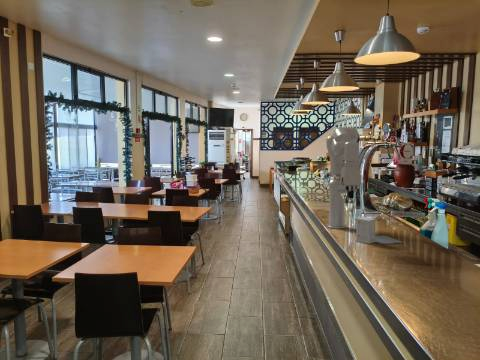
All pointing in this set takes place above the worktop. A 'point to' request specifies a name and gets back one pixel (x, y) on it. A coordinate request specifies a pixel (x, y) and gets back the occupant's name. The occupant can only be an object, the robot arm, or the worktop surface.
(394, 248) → the worktop surface
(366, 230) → the small box
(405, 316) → the worktop surface
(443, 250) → the worktop surface
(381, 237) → the mat
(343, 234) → the worktop surface
